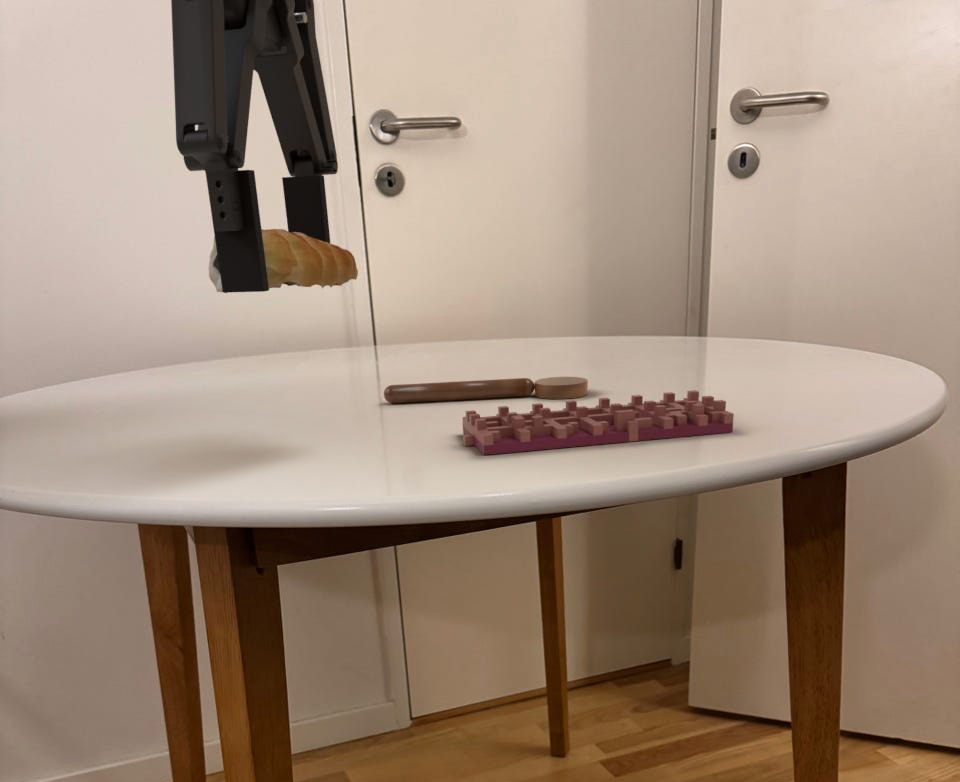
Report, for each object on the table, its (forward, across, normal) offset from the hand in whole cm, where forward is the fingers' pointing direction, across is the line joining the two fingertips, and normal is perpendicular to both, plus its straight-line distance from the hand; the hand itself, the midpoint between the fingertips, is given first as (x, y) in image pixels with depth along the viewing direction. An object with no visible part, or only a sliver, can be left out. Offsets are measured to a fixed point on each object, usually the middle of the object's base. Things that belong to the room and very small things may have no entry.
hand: (282, 285), depth 61 cm
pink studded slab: (+12, +9, -19) cm, 24 cm away
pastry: (0, 0, 0) cm, 0 cm away
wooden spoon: (+11, +24, -7) cm, 27 cm away
